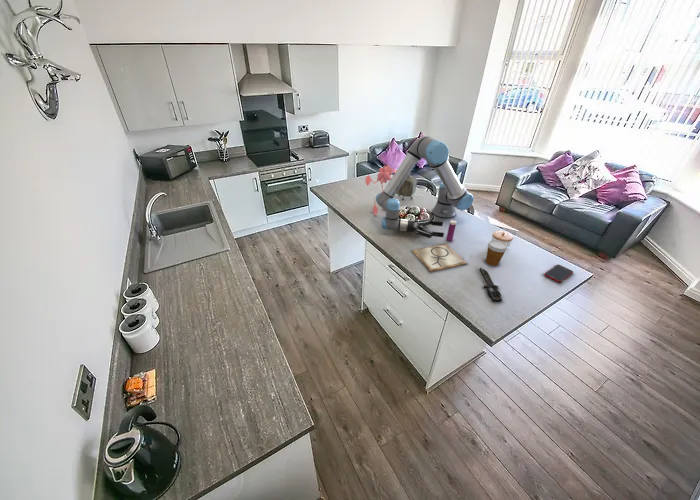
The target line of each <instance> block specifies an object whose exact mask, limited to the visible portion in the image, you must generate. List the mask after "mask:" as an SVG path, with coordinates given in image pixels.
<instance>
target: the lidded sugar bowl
mask: <svg viewBox="0 0 700 500" xmlns="http://www.w3.org/2000/svg"><path fill="white" fill-rule="evenodd" d="M491 240H500V241H502V242H504V243H506V244H507V248H509V246H511V244H512V242H513V240H514V236H513V234H511V233H510V232H508V231H505V230H495V231H493V232H492V235H491Z"/></svg>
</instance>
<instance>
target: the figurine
mask: <svg viewBox="0 0 700 500" xmlns="http://www.w3.org/2000/svg"><path fill="white" fill-rule="evenodd" d="M396 171H397V169H395V168H392V167H390V164H387V165H383V167H379V169H378V172H379V173H377V175H376V177H377V178H376V181H373V179H372V177H371V176H370V175H369V174H368V175H367V176H366V177H365V178H364V182H365V185H366V186H367V187H369V186H370V185H371V182H372V184H377V183H379V182H380V185H381V190H382V191H381V192H380V193H382V192H383V191H384V187H383V184H387V182H388V181H390V180H391V178H392V177H391V176H393V173H394V174H395V172H396ZM374 200H376V196H375V197H374ZM382 210H383V211H385V210H384V209H383V208H382ZM378 212H379V209H378V206H377V205H373V207H372V213H373V215H374V216H375V217H376V216H377V214H378Z"/></svg>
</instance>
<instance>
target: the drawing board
mask: <svg viewBox="0 0 700 500" xmlns="http://www.w3.org/2000/svg"><path fill="white" fill-rule="evenodd" d="M412 253H413V254H414V255H415V256H416V258H417V259H418V260H419V261H420V262H421V263H422V265H424V266H425V267H426V269H427V270H428V271H429V272H430V273H432V272H437V271H442V270H446V269H451V268H455V267H460V266H464V265H465V266H466V265H467V264H468V263H467V261H465V260H464V259H463V258H462V257H461V256H460V255H459V254H457V252H455V251H454V250H453V249H452V248H451V247H450V246H449V245H448V244H447V243H445V244H439V245H434V246H428V247H423V248H418V249H413V250H412Z"/></svg>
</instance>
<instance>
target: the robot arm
mask: <svg viewBox="0 0 700 500" xmlns="http://www.w3.org/2000/svg"><path fill="white" fill-rule="evenodd" d="M449 153H450V149H449V147H448V145H447V144H446V143H445V142H443V141H442V140H438V139H435V138H433V137H431V136H428V135H423V136H420V137H419V138H417V139H416V140H414V141H413V143H411V145H410V146H409V148H408V149H407V151H406V152H405V154H406V155H405V157H404V158H403V160H402V162H401V163H400V165H399V166H398V168H397V169H396V170H397V171H396V172H395V173H394V174H392V177H391V180H389V182H388V183H387V184H386V186H385V188H383V191H381V192H382V193H381V192H379V193H377V195H376V196H375V197H376V198H375V203H377V204H378V206H380V208H381V209H382V210H383V209H384V210H383V211H385V216H383V217H382V220H381V228H382V229H383V230H387V231H397V232H407V233H414V234H415V235H418V236H422V237H424V238H428V239H432V237H436V238H444V235H445V232H441V231H431V230H428V229H426V228H424V227H426V226H430V225H431V226H436V227H443V224H444V221H439V220H433V218H424V219H423V218H422V219H415V220H414V219H407V218H399V214H400V208H401V207H400V201H399V199H396V198H394V197H395V196H396V195H397V194H396V193H397V191H398V190H399V188H400V187H401V185H402V184H403V182H404V181H405V179H406V178H407V176H408V175H410V174H411V173H412V172H411V170H413V168H414V167H415V166H416V164H418V163H420V162H421V160H422V159H423V160H425V161H426V163H427V165H428V166H429V167H430V168H431V169H434V171H435V173H436V174H437V176H438V178H439V179H440V180H441V182H440V184H439V187H438V194H437V201H436V203H435V205H434V206H433V208H432V214H433V215H435V216H436V217H438V218H443V219H451V218H454V216H456V209H457V210H459V211H460V212H461V211H462V212H463V211H466V210H468V209H469V208H470V207H471V206H472V205H473V203H474V199H475V197H474V194H472V193H470V192H469V190H468V189H467V188H466V186H465V185H464V184H461V182H460V180H459V179H458V177H457V174H456V173H455V171H454V169H453V167H452V165H451V164H450V162H449V157H450V156H449ZM410 172H411V173H410Z"/></svg>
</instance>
